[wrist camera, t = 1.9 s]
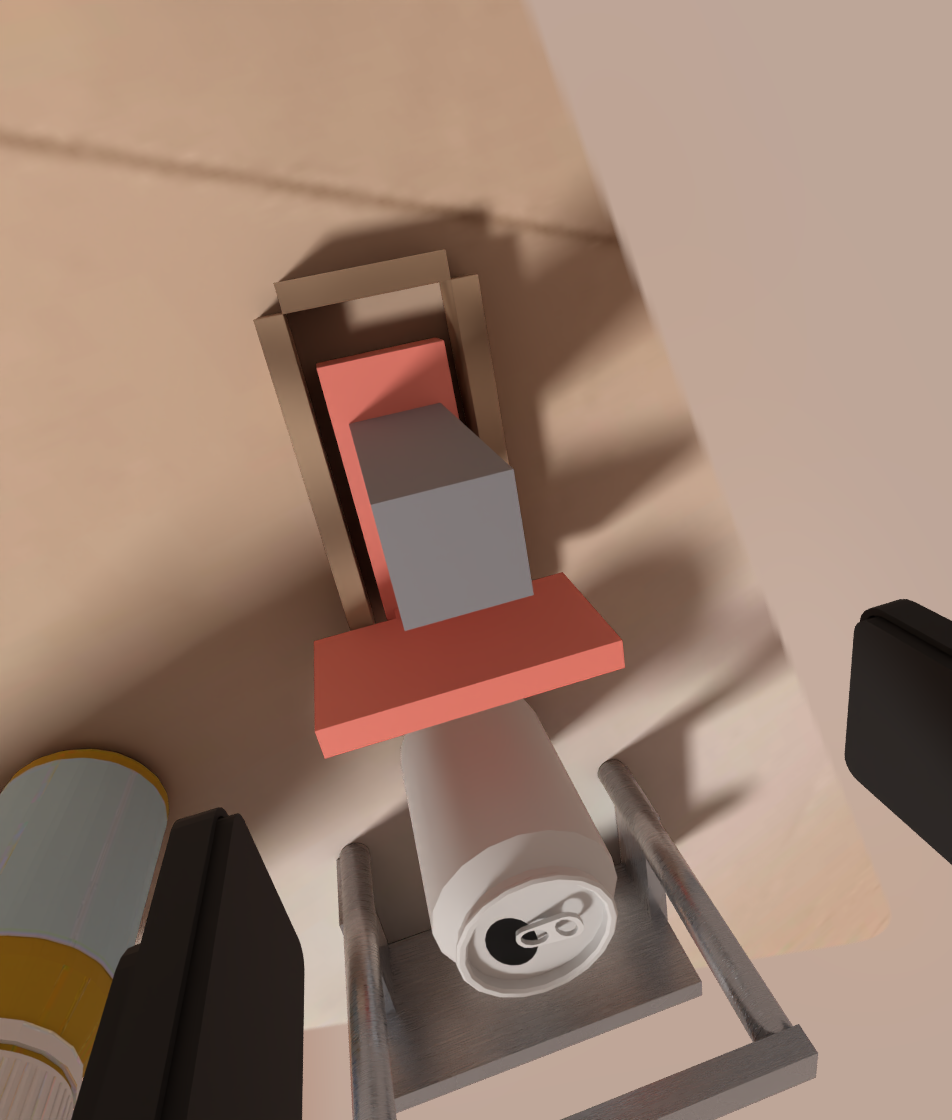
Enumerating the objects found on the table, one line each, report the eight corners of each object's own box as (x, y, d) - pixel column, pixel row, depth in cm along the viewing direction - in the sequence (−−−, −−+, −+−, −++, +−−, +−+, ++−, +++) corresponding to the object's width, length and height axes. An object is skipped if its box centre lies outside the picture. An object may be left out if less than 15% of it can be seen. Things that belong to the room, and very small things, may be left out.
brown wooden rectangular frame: (249, 288, 23) (243, 289, 21) (458, 247, 25) (472, 243, 22) (360, 648, 30) (364, 676, 28) (520, 603, 31) (535, 626, 29)
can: (371, 722, 32) (401, 942, 21) (502, 651, 32) (598, 833, 22) (437, 813, 35) (492, 1043, 25) (555, 749, 36) (661, 948, 25)
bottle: (120, 874, 32) (-16, 1296, 19) (-26, 823, 29) (-313, 1280, 16) (201, 778, 31) (118, 1153, 18) (57, 715, 28) (-175, 1107, 15)
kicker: (235, 380, 24) (178, 452, 14) (509, 321, 26) (646, 345, 15) (321, 635, 29) (326, 830, 19) (547, 573, 31) (669, 721, 20)
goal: (332, 850, 35) (347, 1246, 20) (625, 755, 37) (823, 1051, 23) (377, 962, 39) (415, 1355, 25) (637, 871, 41) (810, 1181, 27)
